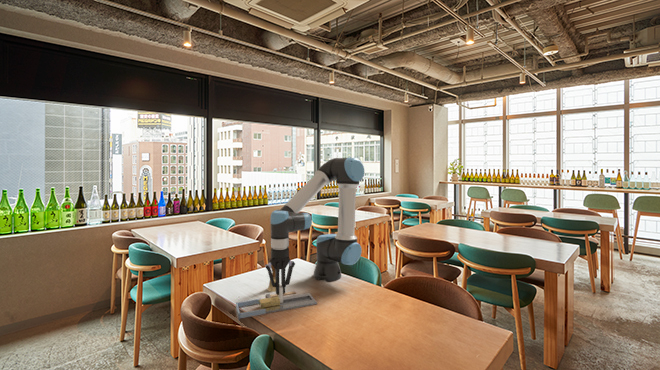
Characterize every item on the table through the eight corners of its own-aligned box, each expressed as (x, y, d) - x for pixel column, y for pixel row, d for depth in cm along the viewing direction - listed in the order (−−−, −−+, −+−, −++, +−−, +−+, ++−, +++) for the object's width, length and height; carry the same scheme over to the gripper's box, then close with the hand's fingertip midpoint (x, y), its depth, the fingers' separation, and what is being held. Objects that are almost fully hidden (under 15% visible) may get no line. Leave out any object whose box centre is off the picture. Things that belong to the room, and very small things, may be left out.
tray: (261, 304, 136) (260, 298, 136) (265, 315, 126) (265, 309, 126) (235, 309, 132) (235, 302, 132) (238, 320, 122) (238, 314, 122)
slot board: (309, 296, 145) (309, 292, 145) (317, 306, 135) (317, 302, 134) (261, 304, 137) (261, 300, 136) (266, 315, 126) (266, 311, 126)
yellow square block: (277, 303, 136) (277, 296, 135) (280, 307, 132) (279, 300, 132) (268, 304, 134) (268, 297, 134) (270, 308, 130) (270, 301, 130)
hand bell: (274, 295, 146) (273, 262, 145) (262, 291, 151) (261, 259, 150) (286, 290, 153) (286, 258, 151) (274, 286, 158) (274, 255, 156)
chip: (268, 304, 134) (268, 297, 134) (270, 308, 130) (270, 301, 130) (259, 306, 133) (259, 299, 132) (261, 310, 129) (260, 303, 129)
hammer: (294, 293, 149) (294, 290, 149) (296, 297, 144) (296, 294, 144) (266, 297, 144) (266, 294, 144) (267, 302, 140) (267, 298, 139)
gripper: (292, 243, 138) (292, 295, 140) (262, 246, 133) (263, 300, 135) (297, 248, 131) (297, 302, 133) (266, 251, 126) (267, 307, 128)
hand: (280, 301), depth 134 cm, fingers closed
